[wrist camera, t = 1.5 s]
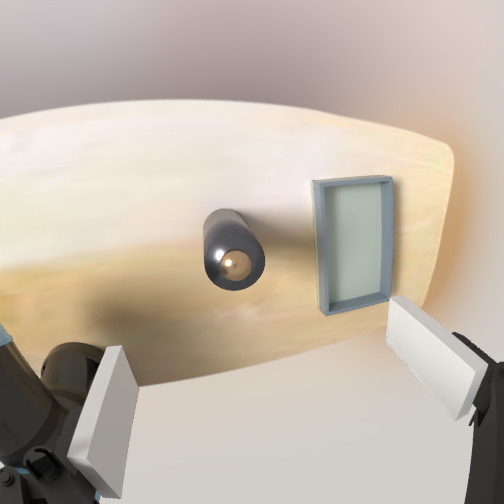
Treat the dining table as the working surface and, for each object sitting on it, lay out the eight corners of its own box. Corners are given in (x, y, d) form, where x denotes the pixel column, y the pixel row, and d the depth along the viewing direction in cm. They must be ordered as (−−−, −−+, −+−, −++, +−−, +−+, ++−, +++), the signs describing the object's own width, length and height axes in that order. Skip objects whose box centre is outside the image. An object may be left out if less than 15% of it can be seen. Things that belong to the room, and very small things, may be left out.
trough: (317, 306, 42) (325, 316, 39) (310, 180, 37) (319, 182, 34) (379, 291, 43) (390, 300, 40) (380, 174, 38) (392, 176, 35)
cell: (206, 252, 37) (210, 300, 25) (200, 212, 36) (199, 241, 24) (247, 246, 38) (270, 290, 26) (242, 205, 36) (264, 231, 24)
